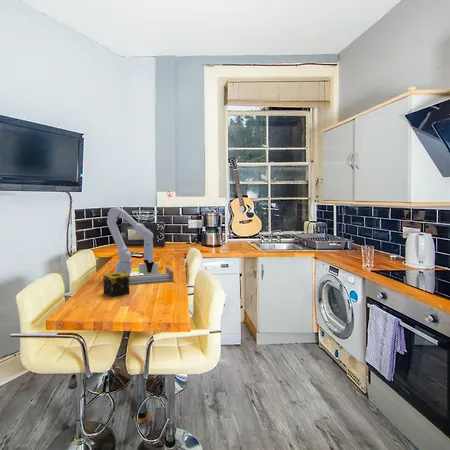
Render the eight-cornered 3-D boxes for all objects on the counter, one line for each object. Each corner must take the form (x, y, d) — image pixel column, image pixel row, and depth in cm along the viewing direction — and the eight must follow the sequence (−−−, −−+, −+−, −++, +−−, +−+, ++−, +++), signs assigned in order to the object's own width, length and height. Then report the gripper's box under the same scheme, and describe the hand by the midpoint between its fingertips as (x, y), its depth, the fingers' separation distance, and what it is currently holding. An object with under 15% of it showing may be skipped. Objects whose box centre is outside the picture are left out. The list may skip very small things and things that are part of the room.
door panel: (139, 276, 213) (139, 264, 212) (138, 275, 215) (138, 263, 214) (158, 275, 217) (158, 262, 217) (157, 274, 219) (157, 262, 218)
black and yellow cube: (120, 289, 184) (120, 271, 183) (130, 293, 176) (130, 274, 176) (102, 293, 177) (102, 274, 176) (111, 297, 169) (111, 278, 168)
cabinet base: (126, 285, 192) (126, 274, 191) (124, 279, 205) (124, 269, 204) (173, 281, 202) (173, 271, 201) (168, 276, 215) (168, 266, 214)
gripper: (156, 252, 209) (157, 273, 211) (152, 248, 223) (153, 268, 224) (145, 252, 207) (145, 274, 208) (142, 249, 220) (142, 269, 221)
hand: (148, 271), depth 216 cm, fingers open, 5 cm apart
